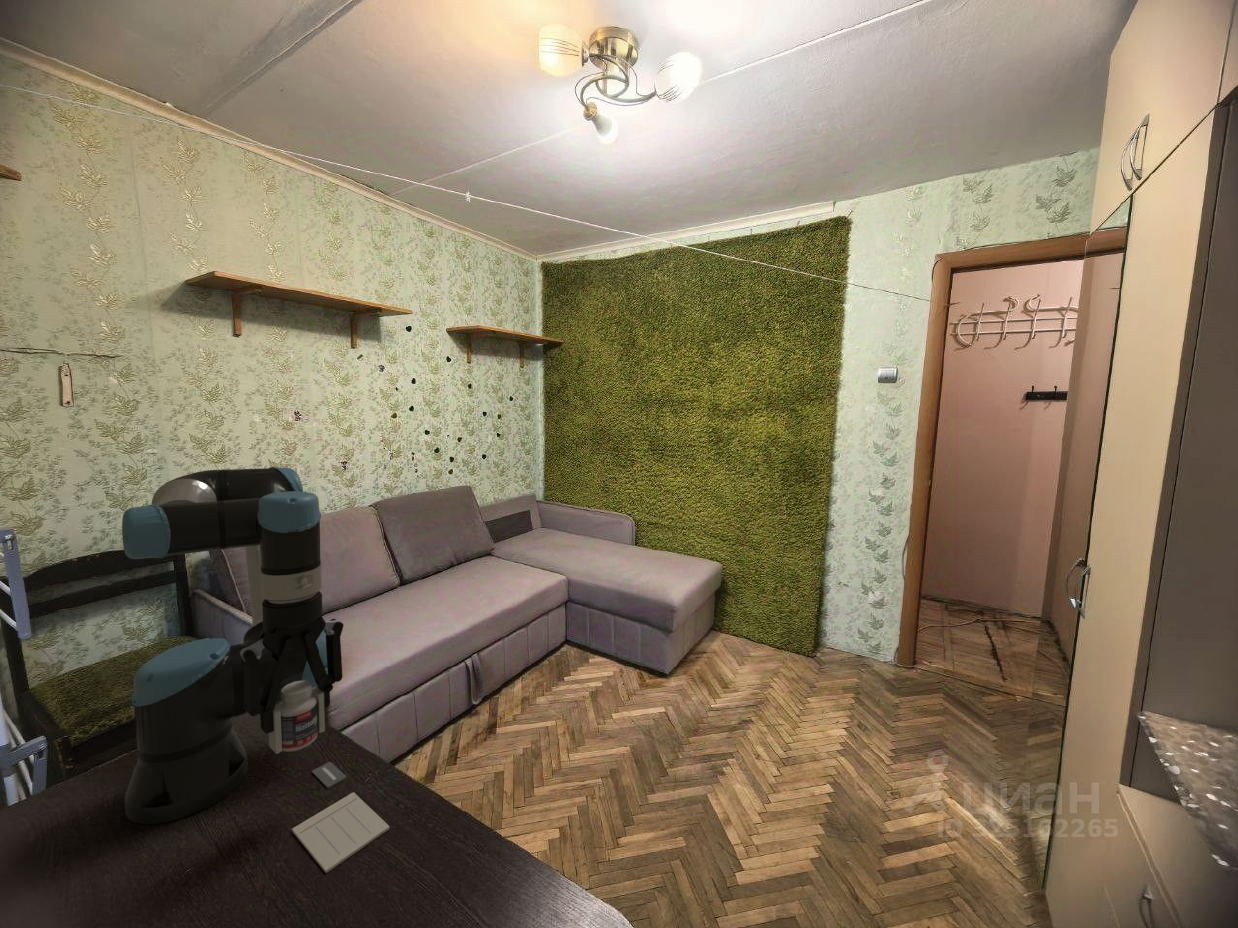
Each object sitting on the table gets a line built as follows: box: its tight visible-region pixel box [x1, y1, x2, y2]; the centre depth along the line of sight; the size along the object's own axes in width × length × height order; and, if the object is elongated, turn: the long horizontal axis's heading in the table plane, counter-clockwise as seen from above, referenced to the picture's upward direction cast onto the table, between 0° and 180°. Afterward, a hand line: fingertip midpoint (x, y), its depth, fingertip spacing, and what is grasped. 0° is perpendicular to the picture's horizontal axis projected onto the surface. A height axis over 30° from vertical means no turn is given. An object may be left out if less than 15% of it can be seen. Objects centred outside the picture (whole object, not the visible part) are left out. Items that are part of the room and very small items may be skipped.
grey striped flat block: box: [311, 761, 348, 789], centre depth 84 cm, size 6×3×1 cm, turn 54°
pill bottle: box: [276, 681, 318, 753], centre depth 75 cm, size 5×5×9 cm
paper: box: [291, 792, 390, 874], centre depth 73 cm, size 11×9×1 cm
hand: (297, 737), depth 76 cm, fingers closed on pill bottle, 5 cm apart
